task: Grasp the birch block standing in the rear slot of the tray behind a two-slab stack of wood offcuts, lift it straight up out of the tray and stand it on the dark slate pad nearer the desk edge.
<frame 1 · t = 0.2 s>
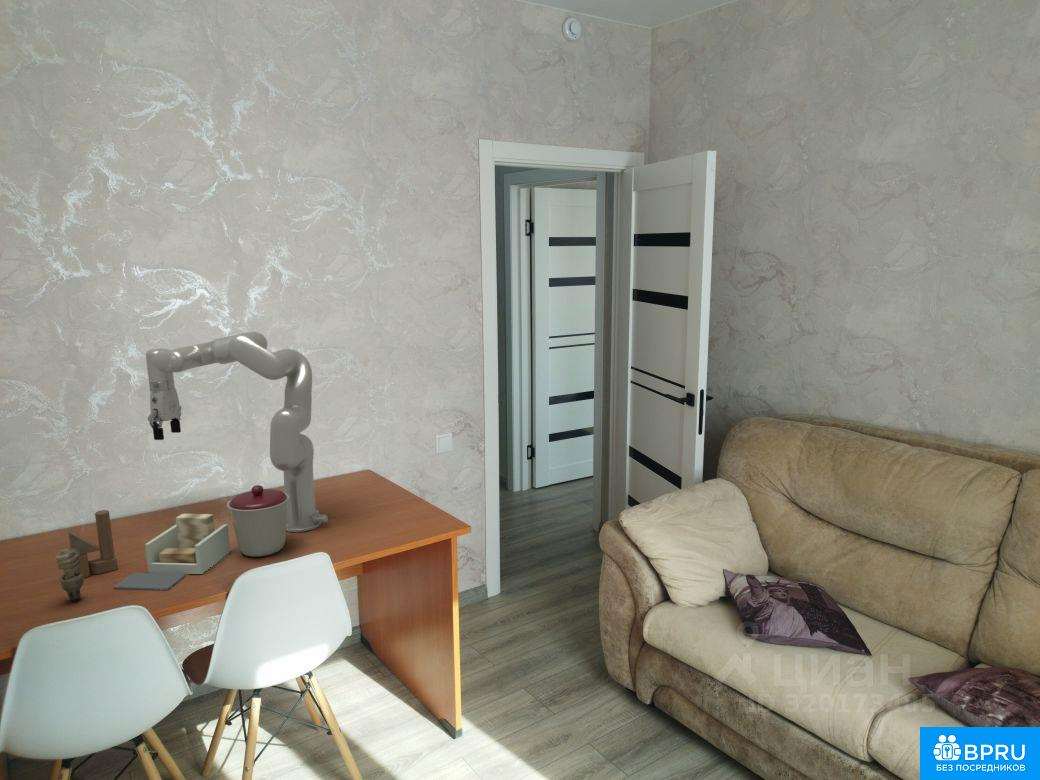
hand: (167, 435, 246), 31 cm above the table, fingers open, 9 cm apart
walnut offcut: (182, 570, 215), resting in tray, touching oak offcut
canister: (263, 551, 227), on the table
brown wooden angled piece: (96, 573, 214), on the table
oak offcut: (180, 560, 215), point 3 cm above the table, touching walnut offcut
slate pad: (150, 582, 206), on the table
light bulb: (74, 601, 196), on the table
birch block: (198, 556, 224), resting in tray
tray: (192, 560, 221), on the table
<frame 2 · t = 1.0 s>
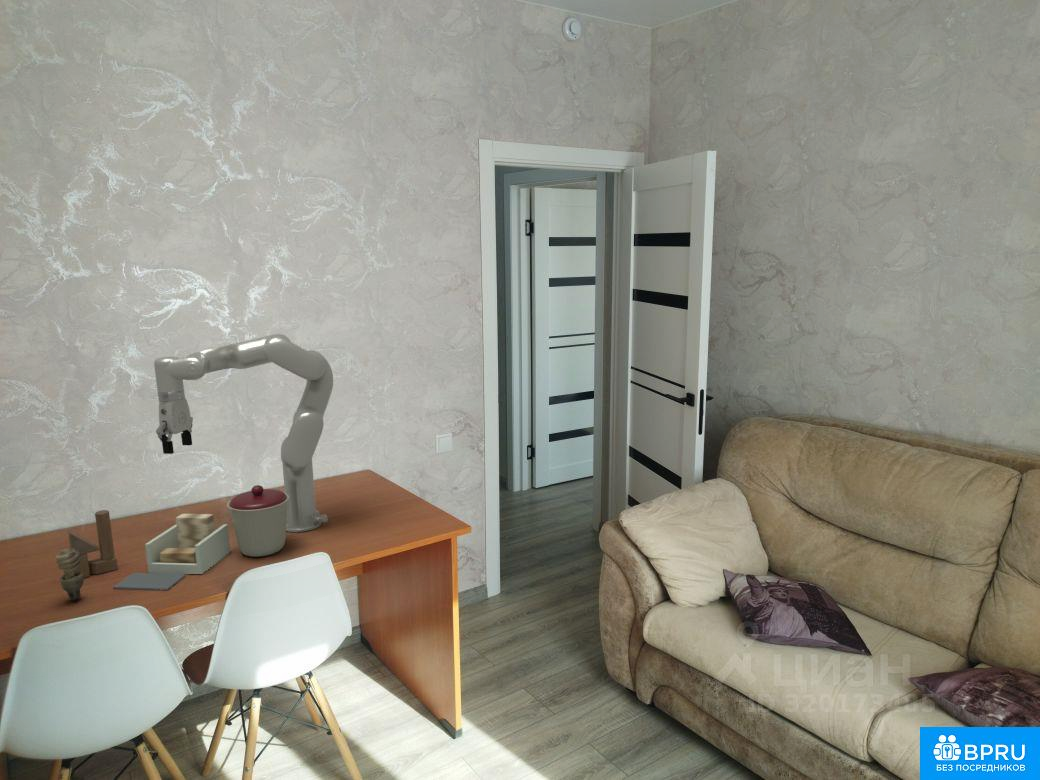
hand: (178, 449, 232), 30 cm above the table, fingers open, 9 cm apart
nothing on the table moved.
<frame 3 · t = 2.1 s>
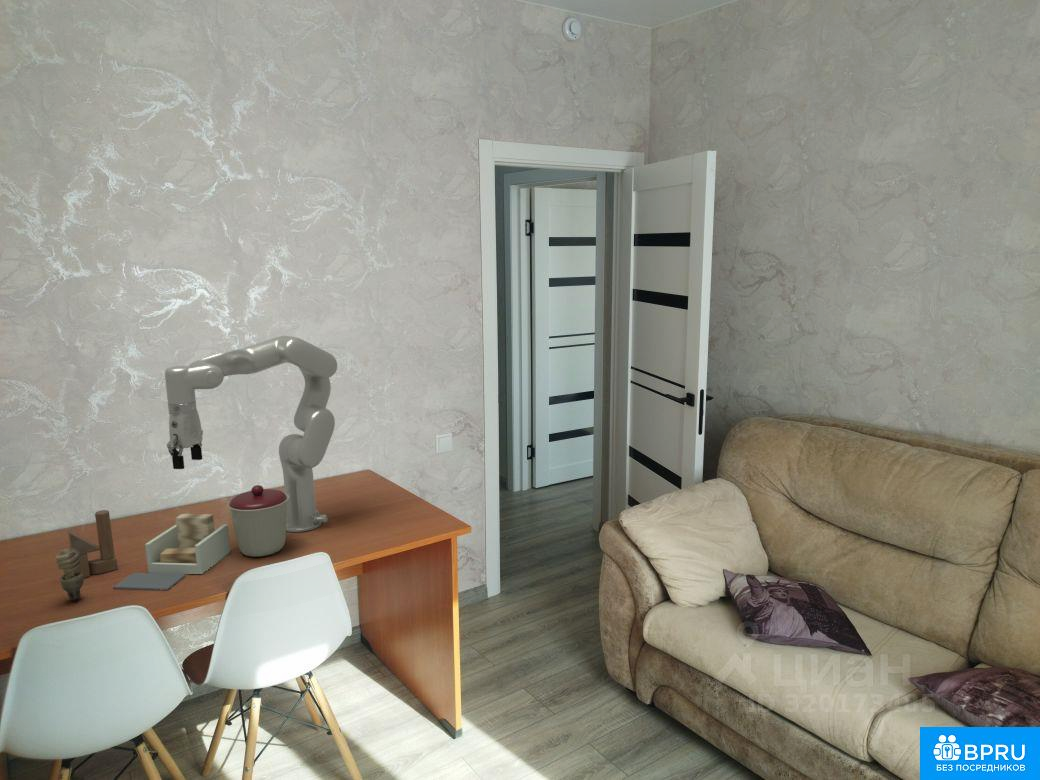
hand: (188, 464, 218), 29 cm above the table, fingers open, 9 cm apart
walnut offcut: (182, 570, 215), resting in tray
oak offcut: (181, 560, 215), point 3 cm above the table
everything else where it was.
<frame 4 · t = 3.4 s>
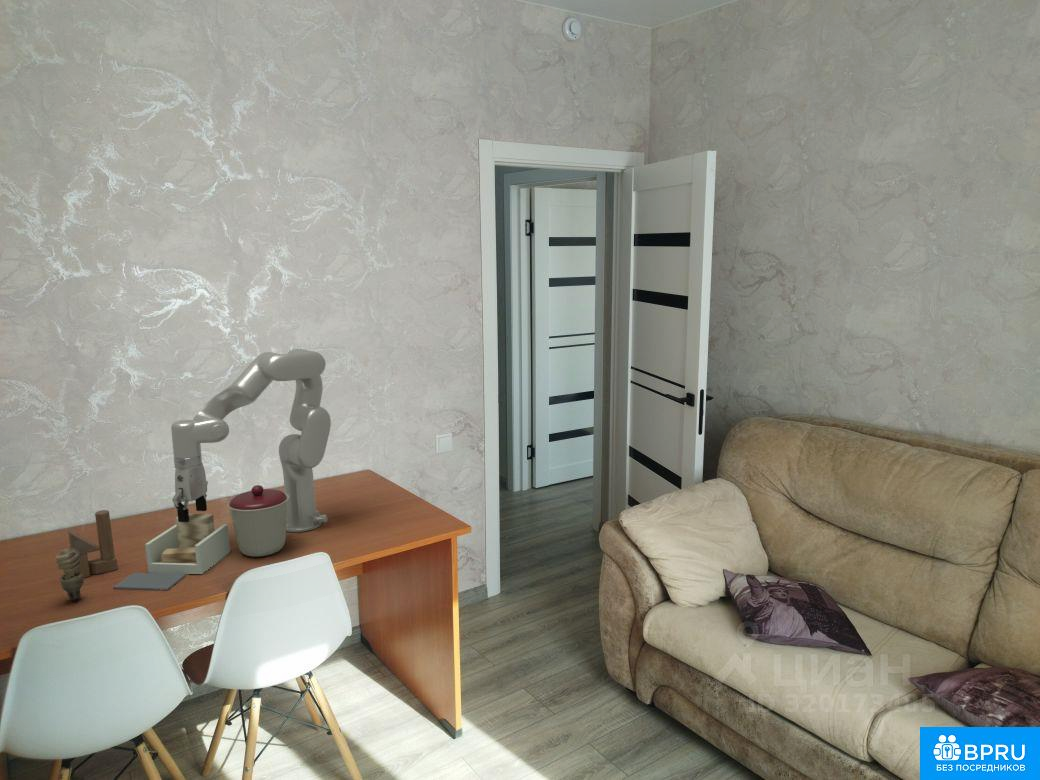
hand: (192, 516, 221), 13 cm above the table, fingers open, 9 cm apart
walnut offcut: (182, 570, 215), resting in tray, touching oak offcut
oak offcut: (182, 560, 215), point 3 cm above the table, touching walnut offcut
everything else where it was.
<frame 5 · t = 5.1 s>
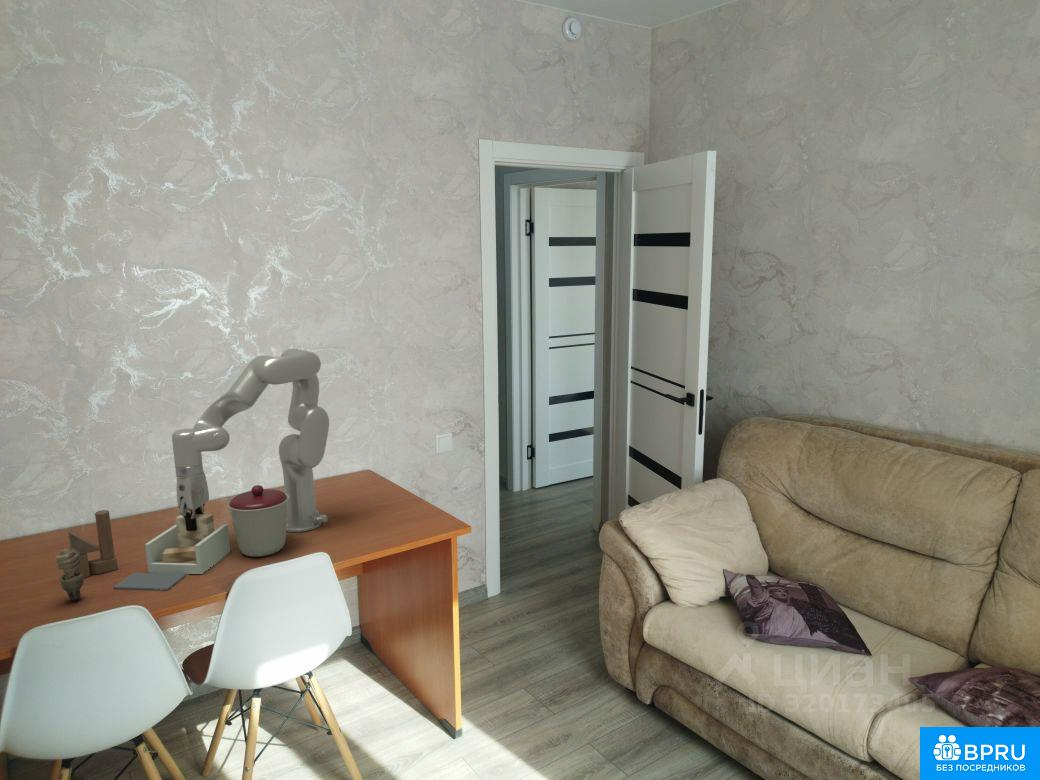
hand: (195, 527, 222), 9 cm above the table, fingers closed on birch block, 3 cm apart
walnut offcut: (182, 570, 215), resting in tray
oak offcut: (183, 559, 216), point 3 cm above the table
birch block: (198, 556, 224), resting in tray, touching gripper
everything else where it was.
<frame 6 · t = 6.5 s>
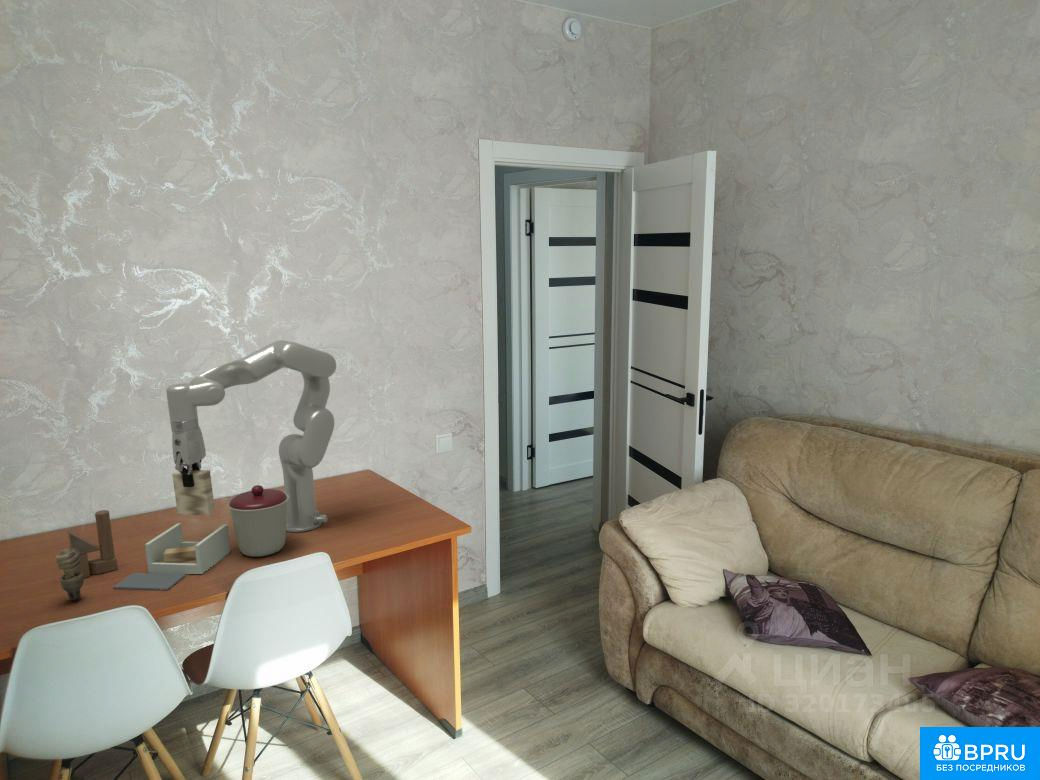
hand: (192, 483, 220), 23 cm above the table, fingers closed on birch block, 3 cm apart
walnut offcut: (182, 570, 215), resting in tray, touching oak offcut
oak offcut: (184, 559, 216), point 3 cm above the table, touching walnut offcut
birch block: (196, 512, 222), point 14 cm above the table, touching gripper
everything else where it was.
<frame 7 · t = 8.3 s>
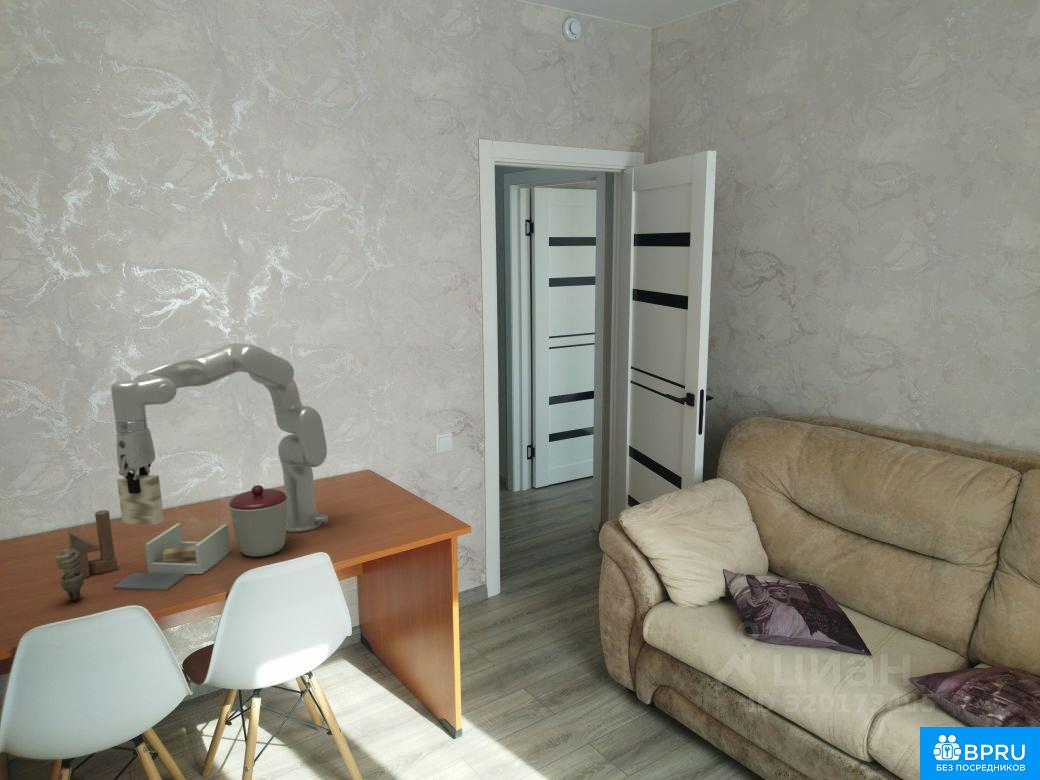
hand: (139, 490, 202), 27 cm above the table, fingers closed on birch block, 3 cm apart
birch block: (143, 521, 203), point 18 cm above the table, touching gripper
everything else where it was.
when the fingers open (10 cm above the table, at t = 12.2 s): birch block stays where it is, resting on slate pad.
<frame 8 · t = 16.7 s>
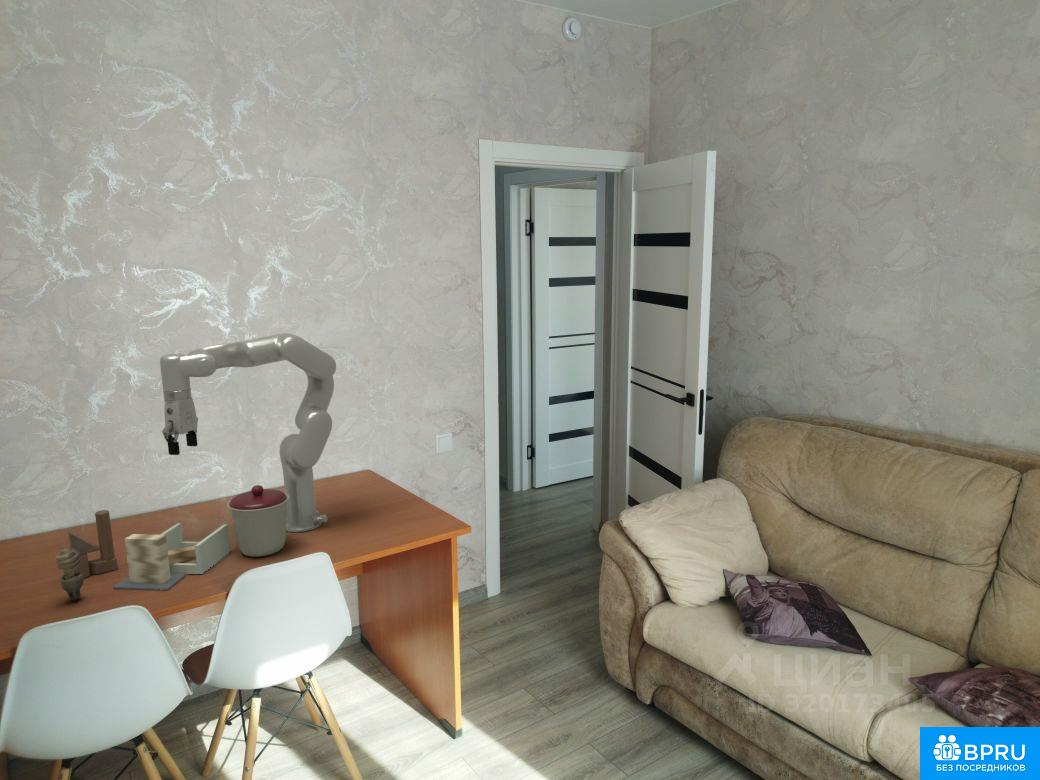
hand: (183, 450, 223), 32 cm above the table, fingers open, 9 cm apart
walnut offcut: (181, 571, 215), resting in tray
oak offcut: (181, 560, 215), point 3 cm above the table, tilted 6°, touching tray
birch block: (150, 580, 206), point 1 cm above the table, touching slate pad
everything else where it was.
at the end: birch block inside the target area on the slate pad (0.2 cm from its centre), point 0.6 cm above the slate pad's base; birch block tilted 0°; the gripper is holding nothing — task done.
